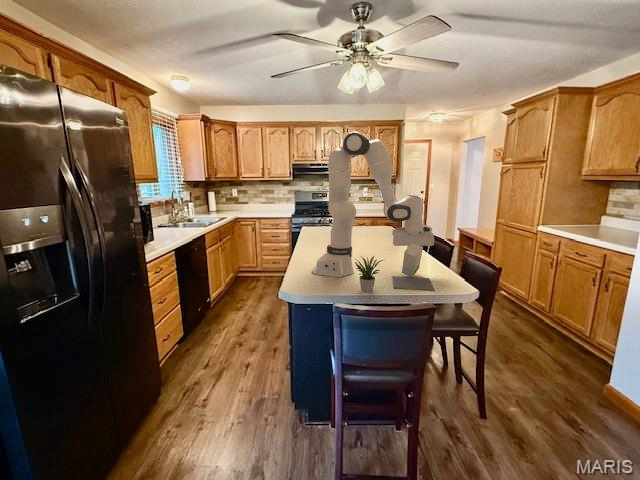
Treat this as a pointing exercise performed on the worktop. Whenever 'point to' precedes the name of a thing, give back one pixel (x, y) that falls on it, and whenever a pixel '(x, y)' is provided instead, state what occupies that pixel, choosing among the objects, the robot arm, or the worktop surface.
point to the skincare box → (412, 259)
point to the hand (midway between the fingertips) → (412, 253)
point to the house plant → (367, 275)
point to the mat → (412, 283)
